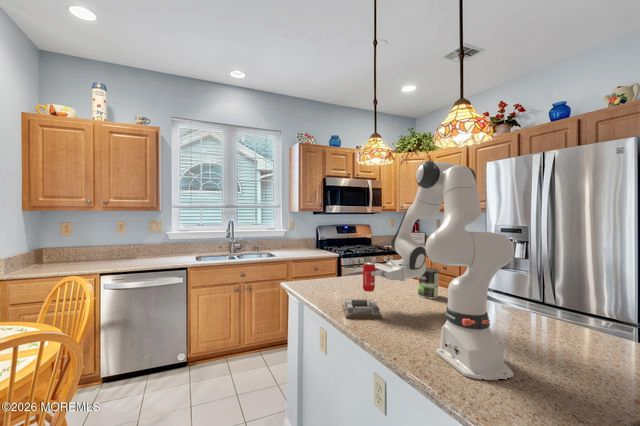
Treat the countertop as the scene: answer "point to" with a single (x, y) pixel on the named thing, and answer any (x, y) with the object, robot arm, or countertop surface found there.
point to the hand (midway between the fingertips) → (367, 272)
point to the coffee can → (428, 284)
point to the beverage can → (368, 277)
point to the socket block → (361, 309)
